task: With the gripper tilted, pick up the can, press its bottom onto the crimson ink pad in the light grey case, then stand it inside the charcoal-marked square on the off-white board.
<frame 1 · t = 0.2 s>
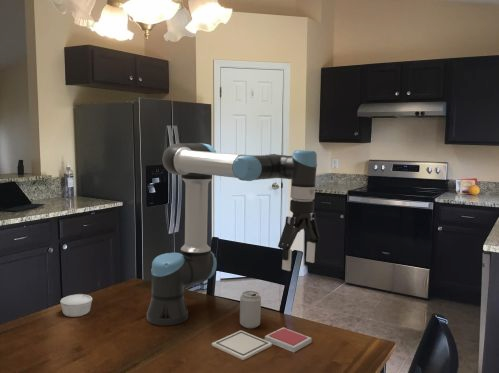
hand: (298, 265, 146), 28 cm above the table, tool pointing down, fingers open, 13 cm apart
marked board: (242, 345, 150), on the table
ramekin: (76, 313, 174), on the table
ink pad: (288, 341, 154), on the table
can: (249, 325, 167), on the table
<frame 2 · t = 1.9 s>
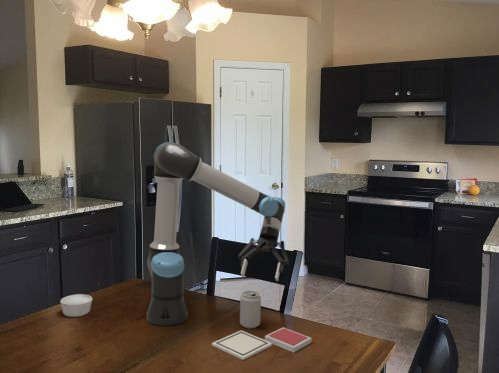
hand: (259, 277, 175), 15 cm above the table, tool tilted 45°, fingers open, 13 cm apart
nothing on the table moved.
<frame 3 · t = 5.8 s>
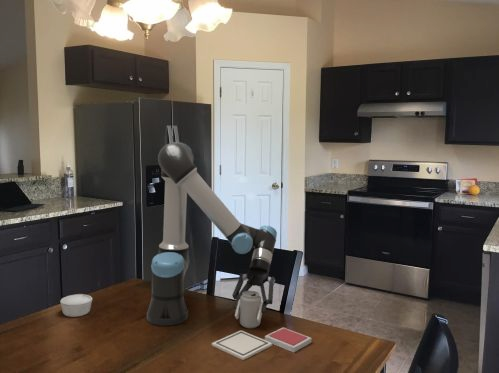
hand: (247, 319, 163), 4 cm above the table, tool tilted 45°, fingers closed on can, 7 cm apart
can: (249, 325, 167), on the table, touching gripper
everything else where it was.
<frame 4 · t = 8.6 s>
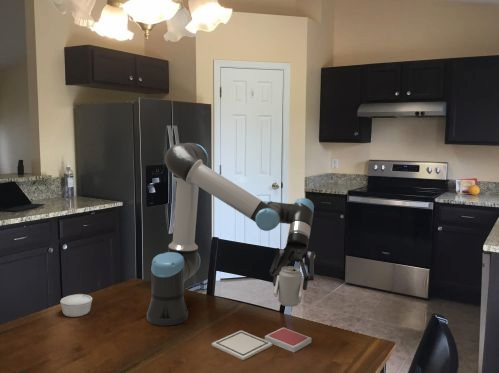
hand: (287, 296, 149), 17 cm above the table, tool tilted 45°, fingers closed on can, 7 cm apart
can: (289, 304, 153), point 13 cm above the table, touching gripper
everything else where it was.
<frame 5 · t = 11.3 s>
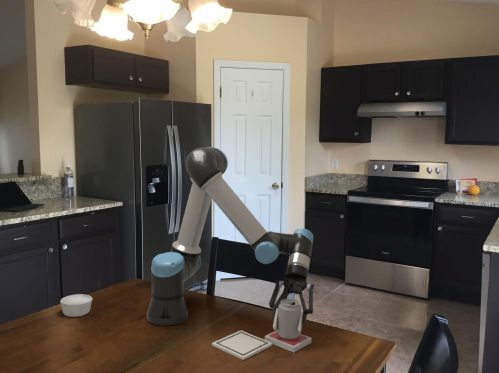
hand: (286, 330, 150), 5 cm above the table, tool tilted 45°, fingers closed on can, 7 cm apart
can: (288, 336, 154), point 2 cm above the table, touching gripper, ink pad
everything else where it was.
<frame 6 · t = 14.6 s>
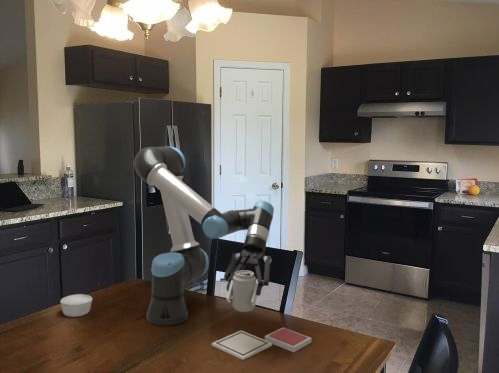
hand: (240, 302, 145), 16 cm above the table, tool tilted 45°, fingers closed on can, 7 cm apart
can: (243, 309, 149), point 12 cm above the table, touching gripper
everything else where it was.
when the fingers open (5 cm above the table, at t = 17.2 s): can drops 1 cm, resting on marked board.
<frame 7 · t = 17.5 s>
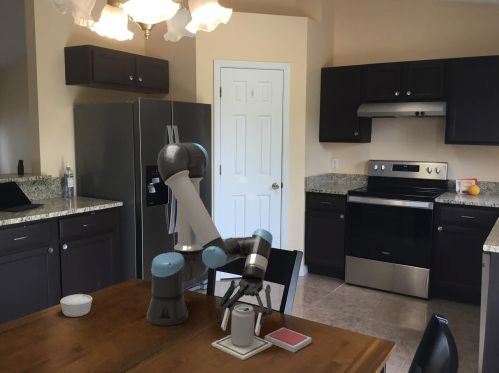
hand: (239, 331, 147), 6 cm above the table, tool tilted 45°, fingers open, 10 cm apart
can: (242, 343, 151), point 1 cm above the table, touching marked board
everything else where it was.
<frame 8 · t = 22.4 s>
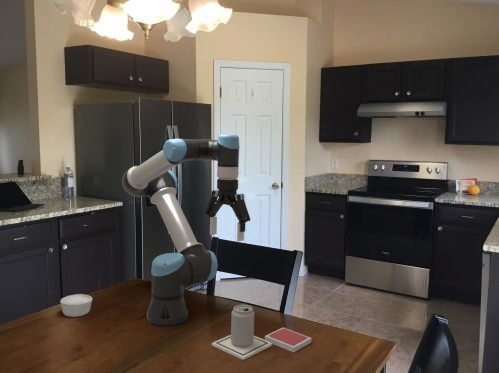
hand: (226, 237, 165), 32 cm above the table, tool pointing down, fingers open, 13 cm apart
nothing on the table moved.
at the end: can 0.1 cm off-centre on the marked board, point 0.6 cm above the marked board's base; can tilted 0°; the gripper is holding nothing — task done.
